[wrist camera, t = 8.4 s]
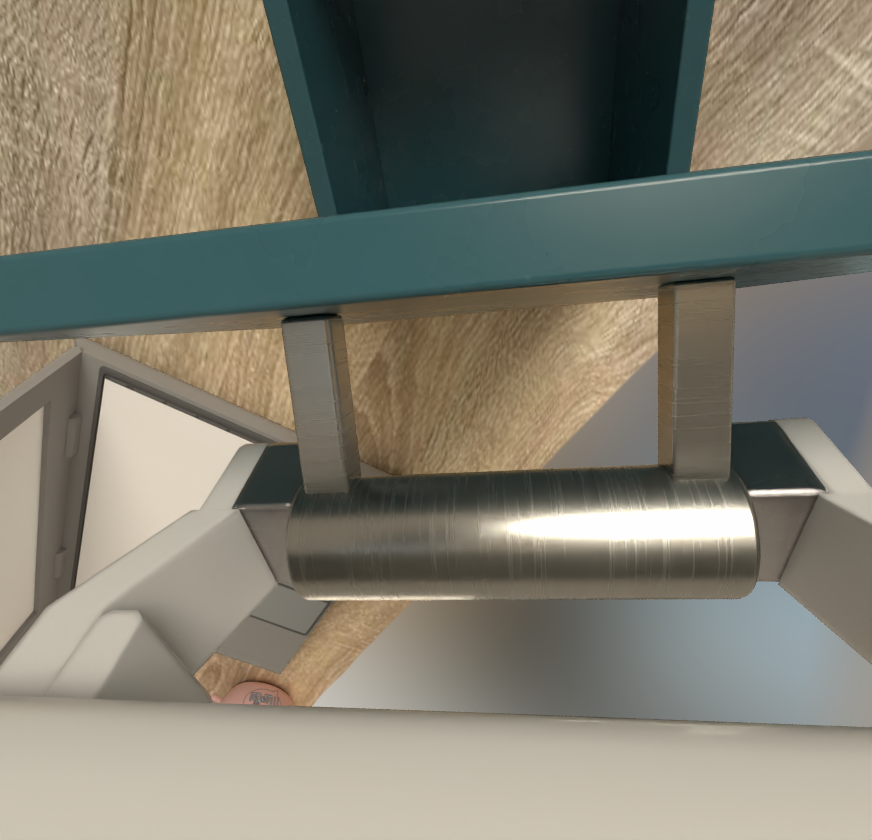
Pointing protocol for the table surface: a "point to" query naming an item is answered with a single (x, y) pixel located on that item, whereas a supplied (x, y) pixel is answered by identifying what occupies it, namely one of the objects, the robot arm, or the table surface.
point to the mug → (254, 695)
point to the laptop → (121, 486)
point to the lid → (478, 293)
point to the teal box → (487, 94)
